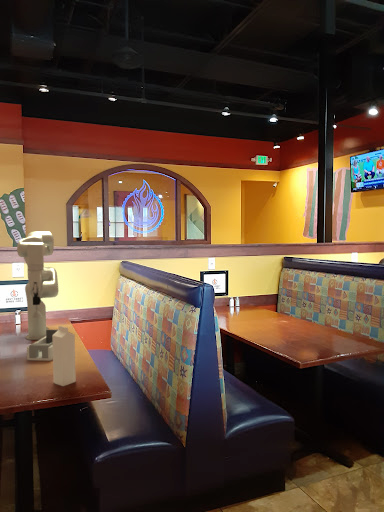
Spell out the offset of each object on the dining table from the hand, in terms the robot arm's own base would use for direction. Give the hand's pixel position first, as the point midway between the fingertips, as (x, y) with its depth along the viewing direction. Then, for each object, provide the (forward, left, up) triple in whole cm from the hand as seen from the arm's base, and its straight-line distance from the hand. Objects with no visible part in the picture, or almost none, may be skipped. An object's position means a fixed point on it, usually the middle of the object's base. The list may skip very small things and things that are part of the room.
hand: (36, 303), depth 207 cm
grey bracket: (+9, +9, -23) cm, 26 cm away
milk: (+46, +32, -23) cm, 61 cm away
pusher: (+9, +9, -22) cm, 25 cm away
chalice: (0, 0, -7) cm, 7 cm away
